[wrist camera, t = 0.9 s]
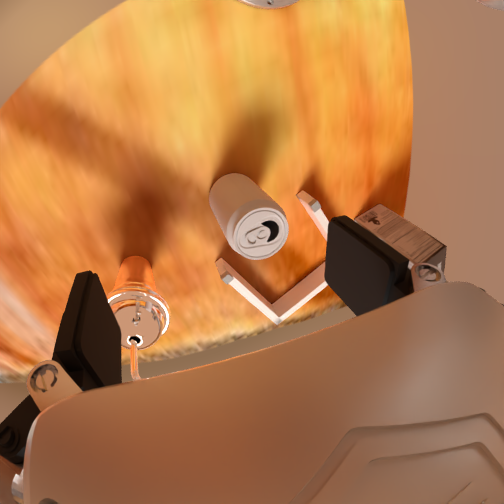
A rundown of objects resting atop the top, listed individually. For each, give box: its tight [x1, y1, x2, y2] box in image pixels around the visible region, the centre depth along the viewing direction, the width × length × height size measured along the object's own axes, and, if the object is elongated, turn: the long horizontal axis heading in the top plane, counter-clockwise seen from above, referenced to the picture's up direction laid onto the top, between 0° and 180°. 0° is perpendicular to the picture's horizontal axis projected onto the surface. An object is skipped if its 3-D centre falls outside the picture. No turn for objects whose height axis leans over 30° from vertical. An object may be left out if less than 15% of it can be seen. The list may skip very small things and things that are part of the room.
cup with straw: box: [106, 256, 171, 380], centre depth 30 cm, size 8×9×20 cm
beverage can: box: [209, 173, 288, 260], centre depth 33 cm, size 6×6×12 cm
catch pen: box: [215, 190, 329, 325], centre depth 44 cm, size 16×15×4 cm
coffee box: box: [354, 204, 447, 273], centre depth 42 cm, size 9×6×16 cm
